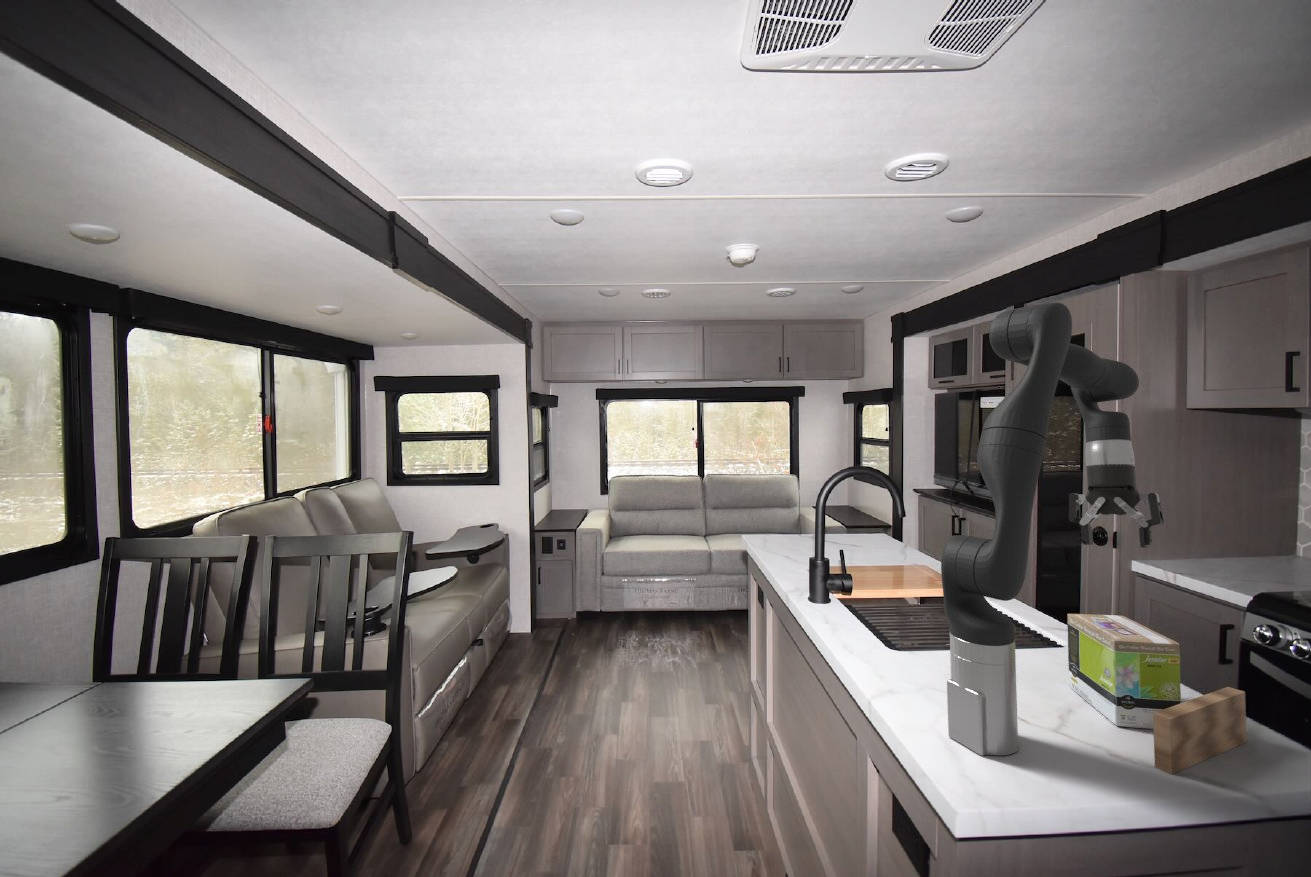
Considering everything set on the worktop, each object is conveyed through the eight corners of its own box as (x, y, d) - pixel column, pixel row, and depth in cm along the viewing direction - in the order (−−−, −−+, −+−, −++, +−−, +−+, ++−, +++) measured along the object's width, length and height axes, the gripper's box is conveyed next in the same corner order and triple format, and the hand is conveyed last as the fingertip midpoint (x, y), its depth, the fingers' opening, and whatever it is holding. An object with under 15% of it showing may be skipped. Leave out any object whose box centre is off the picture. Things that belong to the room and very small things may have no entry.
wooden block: (1171, 774, 79) (1169, 719, 79) (1154, 766, 81) (1153, 713, 81) (1246, 742, 86) (1245, 691, 86) (1229, 735, 88) (1228, 686, 88)
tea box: (1185, 732, 89) (1182, 642, 89) (1115, 727, 91) (1112, 640, 91) (1126, 689, 104) (1123, 613, 104) (1066, 686, 106) (1064, 611, 106)
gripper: (1060, 464, 113) (1066, 543, 111) (1151, 460, 101) (1159, 549, 99) (1073, 467, 117) (1078, 543, 115) (1162, 464, 106) (1169, 548, 104)
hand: (1116, 546), depth 107 cm, fingers open, 8 cm apart
